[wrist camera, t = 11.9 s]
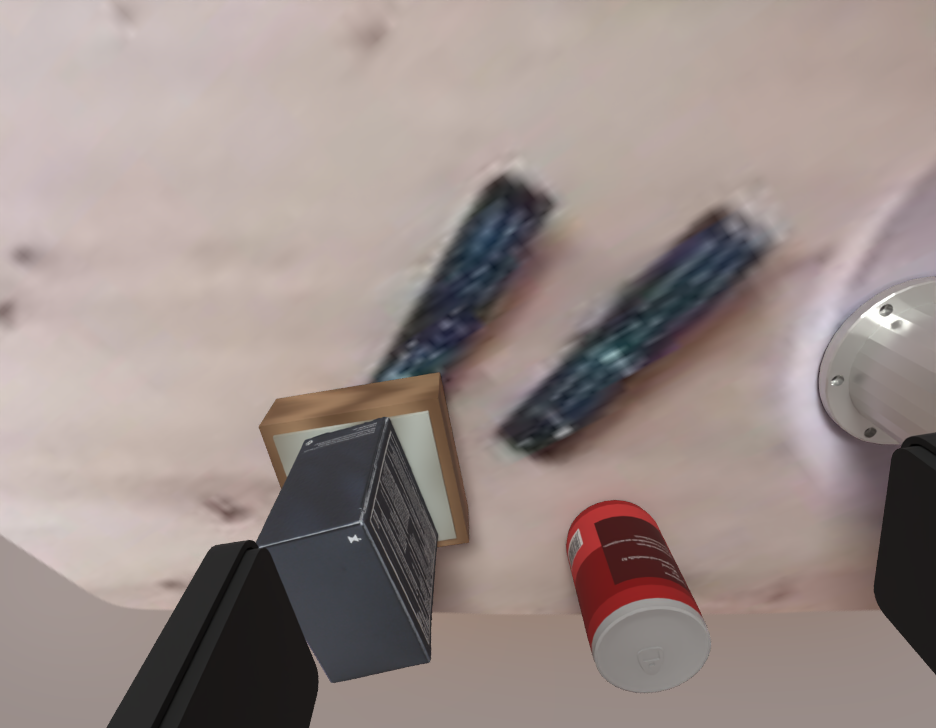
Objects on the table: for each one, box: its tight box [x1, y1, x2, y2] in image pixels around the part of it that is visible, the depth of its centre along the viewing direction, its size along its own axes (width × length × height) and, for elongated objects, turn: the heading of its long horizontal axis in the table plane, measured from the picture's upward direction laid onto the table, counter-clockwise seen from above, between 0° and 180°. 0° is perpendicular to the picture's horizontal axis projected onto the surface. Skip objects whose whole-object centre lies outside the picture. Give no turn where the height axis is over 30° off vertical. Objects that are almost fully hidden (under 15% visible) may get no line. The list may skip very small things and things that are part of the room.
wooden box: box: [259, 372, 469, 547], centre depth 41 cm, size 12×12×4 cm
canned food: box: [566, 500, 711, 693], centre depth 42 cm, size 8×8×11 cm
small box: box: [256, 417, 438, 683], centre depth 34 cm, size 11×6×10 cm, turn 17°
